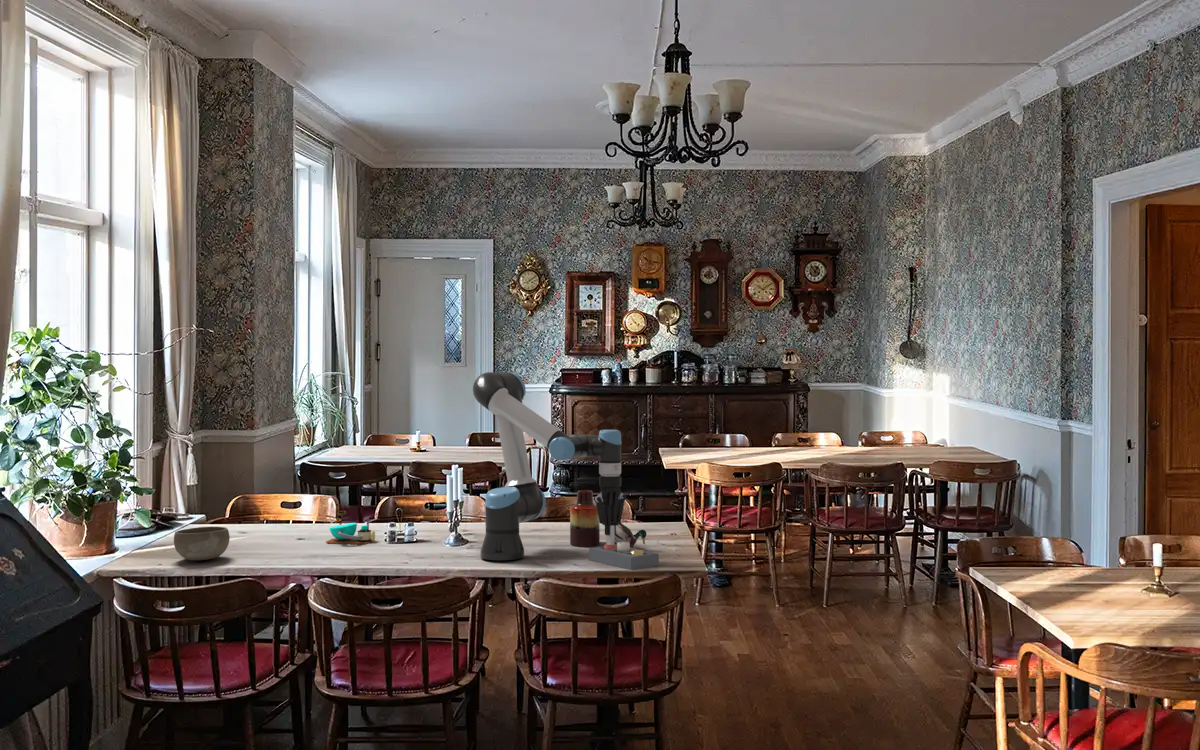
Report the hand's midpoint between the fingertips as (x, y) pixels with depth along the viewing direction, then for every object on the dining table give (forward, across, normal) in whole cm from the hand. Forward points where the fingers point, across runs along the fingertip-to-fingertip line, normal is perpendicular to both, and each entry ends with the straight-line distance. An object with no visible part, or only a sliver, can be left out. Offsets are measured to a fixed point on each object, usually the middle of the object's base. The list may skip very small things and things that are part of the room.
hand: (610, 544), depth 348 cm
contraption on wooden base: (+6, -56, +85) cm, 102 cm away
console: (+5, 0, -7) cm, 9 cm away
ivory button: (+2, 0, -7) cm, 7 cm away
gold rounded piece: (+4, 0, -14) cm, 14 cm away
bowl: (+5, -108, +89) cm, 140 cm away
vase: (+5, +10, +27) cm, 29 cm away
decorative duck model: (+5, +18, +9) cm, 21 cm away
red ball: (+4, 0, 0) cm, 4 cm away
